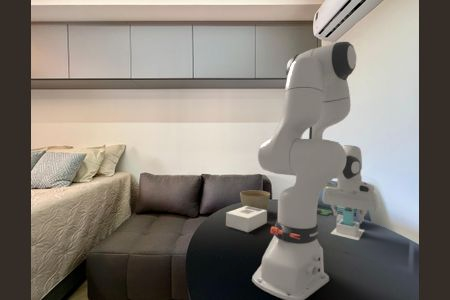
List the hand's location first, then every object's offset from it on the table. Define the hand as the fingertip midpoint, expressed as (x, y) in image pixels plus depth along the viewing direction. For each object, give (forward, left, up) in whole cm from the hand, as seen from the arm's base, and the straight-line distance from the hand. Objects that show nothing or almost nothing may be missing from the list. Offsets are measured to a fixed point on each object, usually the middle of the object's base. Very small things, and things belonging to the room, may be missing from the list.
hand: (348, 217), depth 96 cm
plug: (0, 0, -6) cm, 6 cm away
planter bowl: (+1, +46, -8) cm, 47 cm away
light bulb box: (+13, +2, -8) cm, 15 cm away
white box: (-17, +39, -7) cm, 43 cm away
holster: (0, 0, -7) cm, 7 cm away
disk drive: (+22, +20, -8) cm, 31 cm away
